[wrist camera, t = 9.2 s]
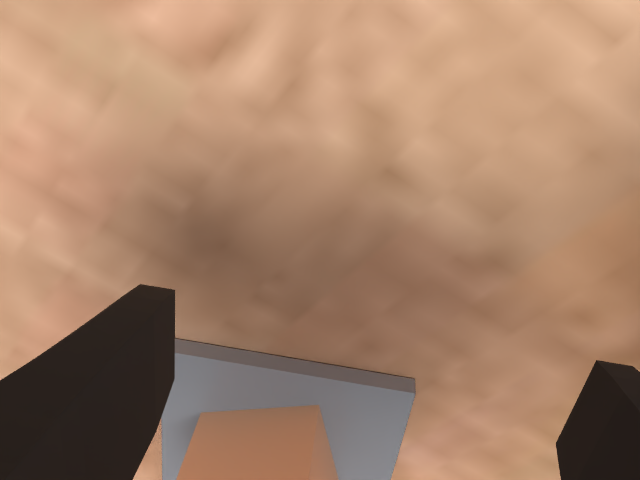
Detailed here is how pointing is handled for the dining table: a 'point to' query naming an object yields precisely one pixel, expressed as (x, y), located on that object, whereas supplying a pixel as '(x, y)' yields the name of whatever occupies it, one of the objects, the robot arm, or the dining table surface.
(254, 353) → the plate
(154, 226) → the dining table surface
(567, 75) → the dining table surface
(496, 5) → the dining table surface
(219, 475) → the terracotta cube
